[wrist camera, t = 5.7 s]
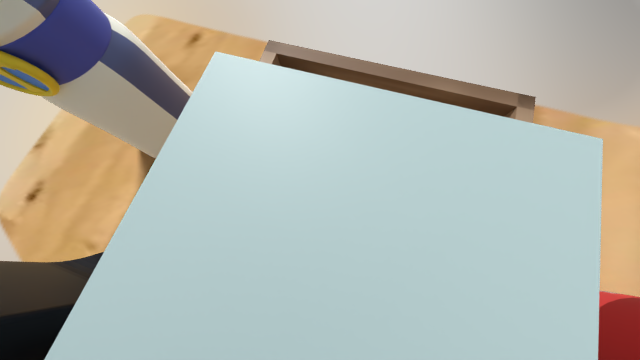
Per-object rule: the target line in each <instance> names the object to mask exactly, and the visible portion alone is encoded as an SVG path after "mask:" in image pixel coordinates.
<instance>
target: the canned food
mask: <svg viewBox="0 0 640 360" xmlns="http://www.w3.org/2000/svg"><path fill="white" fill-rule="evenodd" d="M598 360H640V297H636V296H630V295H624V294H618V293H611V292H605V291H599V335H598Z"/></svg>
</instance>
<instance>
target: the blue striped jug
mask: <svg viewBox="0 0 640 360" xmlns="http://www.w3.org/2000/svg"><path fill="white" fill-rule="evenodd" d="M0 85H3V86H6V87H8V88H11V89H14V90H18V91H21V92H24V93H28V94H33V95H38V96H42V97H43V98H44V99H46V100H48V101H49V102H51V103H53V104H55V105H56V106H58V107H60V108H61V109H63V110H65V111H67V112H69V113H71V114H73V115H75V116H77V117H79V118H81V119H83V120H85V121H87V122H89V123H91V124H92V125H94V126H96V127H98V128H100V129H102V130H104V131H106V132H108V133H110V134H112V135H114V136H115V137H117V138H119V139H121V140H123V141H125V142H126V143H128V144H130V145H132V146H134V147H135V148H137V149H139V150H141V151H142V152H144V153H146V154H148V155H149V156H151V157H154V158H157V156H158V154H159V152H160V151H161V149H162V147H163V145H164V143H165V142H166V140H167V138H168V136H169V134H170V133H171V131H172V129H173V127H174V125H175V124H176V122H177V120H178V118H179V116H180V115H181V113H182V111H183V109H184V107H185V106H186V104H187V102H188V100H189V98H190V97H191V95H192V93H193V92H192V91H191V90H190V89H189V88H188V87H187V86H186V85H184V84H183V83H182V82H181V81H180V80H179V79H178V78H177V77H176V76H175V75H174V74H173V73H172V72H171V71H170V70H169V69H168V68H167V67H166V66H165V65H164V64H163V63H162V62H161V61H160V60H159V59H158V58H157V57H156V56H155V55H154V54H153V53H152V52H151V51H150V50H149V48H148V47H147V46H146V45H145V44H144V43H143V42H142V41H141V40H140V39H139V38H138V37H137V36H136V35H134V34H133V33H132V32H131V31H130V30H129V29H128V28H127V27H126V26H124V25H123V24H122V23H120V22H118V21H117V20H116V19H114V18H113V17H111V16H109V15H108V14H106V13H104V12H102V11H101V10H100V9H99V8H98V7H97V6H96V5H95V4H94V3H93V2H92V1H91V0H0Z"/></svg>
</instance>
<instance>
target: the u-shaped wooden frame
mask: <svg viewBox="0 0 640 360" xmlns="http://www.w3.org/2000/svg"><path fill="white" fill-rule="evenodd" d="M259 62H264V63H268V64H273V65H277V66H282V67H286V68H290V69H295V70H299V71H304V72H308V73H313V74H317V75H321V76H326V77H330V78H335V79H339V80H343V81H348V82H352V83H357V84H361V85H366V86H370V87H374V88H379V89H383V90H388V91H392V92H397V93H401V94H405V95H410V96H414V97H419V98H423V99H428V100H432V101H436V102H441V103H445V104H450V105H454V106H459V107H463V108H467V109H472V110H476V111H481V112H485V113H490V114H494V115H498V116H503V117H507V118H512V119H516V120H521V121H525V122H529V123H533V116H534V107H535V97H532V96H528V95H523V94H519V93H514V92H509V91H505V90H500V89H495V88H490V87H485V86H481V85H476V84H471V83H466V82H462V81H458V80H453V79H448V78H443V77H439V76H434V75H429V74H425V73H420V72H416V71H411V70H406V69H402V68H397V67H392V66H388V65H383V64H378V63H373V62H368V61H364V60H359V59H355V58H350V57H345V56H341V55H336V54H331V53H326V52H322V51H317V50H312V49H308V48H303V47H299V46H294V45H289V44H284V43H280V42H275V41H270V40H269V41H268V43H267V46H266V48H265V50H264V52H263V54H262V56H261V58H260V61H259Z"/></svg>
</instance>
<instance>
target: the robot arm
mask: <svg viewBox="0 0 640 360" xmlns="http://www.w3.org/2000/svg"><path fill="white" fill-rule="evenodd" d="M103 253H104V252H102V253H98V254H95V255H92V256H88V257H85V258H81V259H76V260H71V261H63V262H12V261H11V262H10V261H0V360H44V359H45V357H46V356H47V354H48V352H49V350H50V348H51V347H52V345H53V343H54V341H55V339H56V338H57V336H58V334H59V332H60V330H61V329H62V327H63V325H64V323H65V321H66V320H67V318H68V316H69V314H70V312H71V311H72V309H73V307H74V305H75V303H76V302H77V300H78V298H79V296H80V294H81V293H82V291H83V289H84V287H85V286H86V284H87V282H88V280H89V278H90V277H91V275H92V273H93V271H94V269H95V268H96V266H97V264H98V262H99V260H100V259H101V257H102V255H103Z"/></svg>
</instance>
